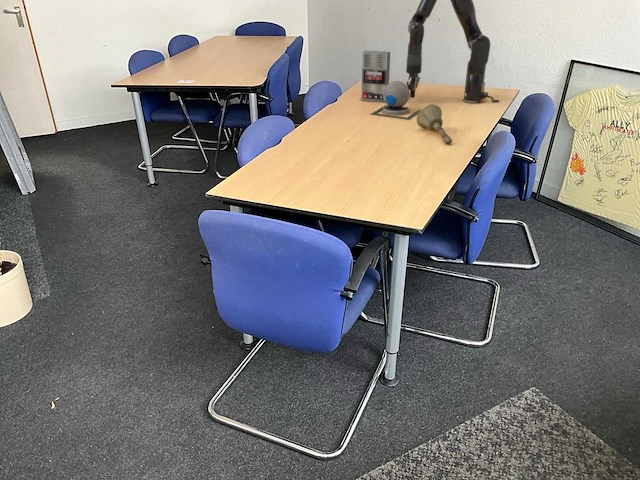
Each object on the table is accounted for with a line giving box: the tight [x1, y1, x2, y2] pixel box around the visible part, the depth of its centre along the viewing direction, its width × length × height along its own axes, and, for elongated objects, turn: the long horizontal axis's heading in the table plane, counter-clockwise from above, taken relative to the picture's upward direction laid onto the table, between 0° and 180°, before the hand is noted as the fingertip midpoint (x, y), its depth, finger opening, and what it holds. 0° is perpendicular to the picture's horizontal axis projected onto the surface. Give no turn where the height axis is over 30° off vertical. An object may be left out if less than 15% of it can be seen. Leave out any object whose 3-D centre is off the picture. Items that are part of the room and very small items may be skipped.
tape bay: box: [371, 105, 421, 120], centre depth 267 cm, size 20×17×1 cm
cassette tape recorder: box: [360, 50, 391, 103], centre depth 282 cm, size 14×6×25 cm, turn 68°
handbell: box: [416, 103, 453, 145], centre depth 231 cm, size 12×12×25 cm
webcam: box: [382, 80, 410, 116], centre depth 265 cm, size 13×13×15 cm
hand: (412, 97), depth 279 cm, fingers closed
